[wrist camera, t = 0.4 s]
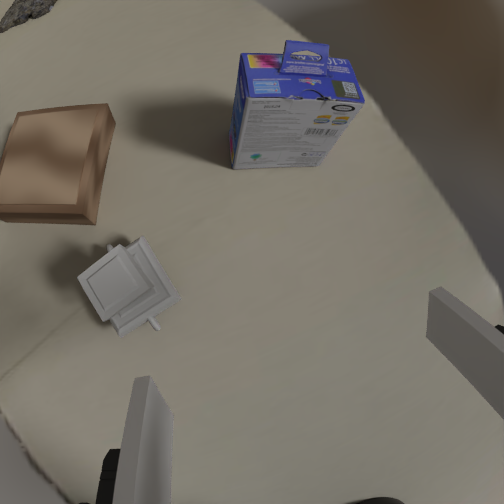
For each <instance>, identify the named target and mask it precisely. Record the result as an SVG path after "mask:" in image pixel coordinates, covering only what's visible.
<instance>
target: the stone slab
mask: <svg viewBox="0 0 504 504" xmlns="http://www.w3.org/2000/svg"><path fill="white" fill-rule="evenodd" d="M56 1H57V0H15V1H14V2H13V4H12V6H11V7H10V8H9V10H8V11H7V12H6V14H5V16H4V17H3V18H2V20H1V22H0V33H3V32H5V31H7V30H8V29H9V28H12V27H14V26H17V25H19V24H22V23H24V22H26V21H27V20H28V17H29V16H30V15H32V18H33V19H36V18H39V17H41V16H42V15H45V14H46V13H48V12H50V10H51V9H52V7H53V6H54V4H55V2H56Z"/></svg>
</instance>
